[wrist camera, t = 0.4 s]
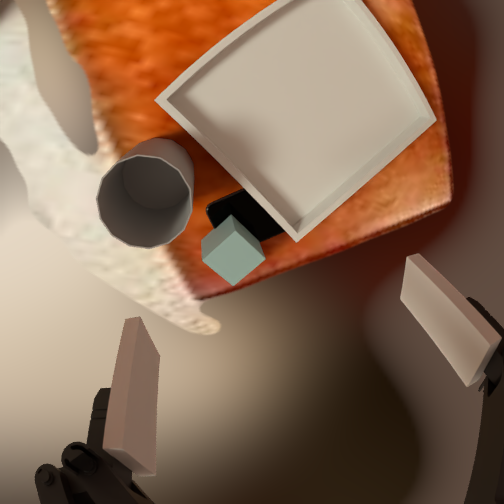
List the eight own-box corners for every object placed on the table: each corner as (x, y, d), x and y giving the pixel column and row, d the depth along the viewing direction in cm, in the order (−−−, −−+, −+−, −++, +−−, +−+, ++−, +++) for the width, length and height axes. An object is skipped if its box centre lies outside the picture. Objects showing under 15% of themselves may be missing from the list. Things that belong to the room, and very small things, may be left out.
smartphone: (227, 253, 40) (334, 208, 39) (228, 257, 39) (336, 211, 38) (202, 204, 36) (318, 156, 35) (202, 207, 35) (321, 157, 34)
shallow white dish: (160, 99, 29) (154, 100, 25) (319, -20, 24) (333, -32, 20) (286, 227, 39) (296, 242, 35) (416, 115, 33) (436, 120, 30)
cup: (209, 165, 33) (212, 191, 25) (169, 220, 36) (160, 264, 27) (147, 124, 30) (126, 135, 21) (110, 184, 32) (81, 217, 24)
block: (201, 239, 38) (202, 260, 33) (230, 212, 37) (235, 230, 32) (229, 263, 40) (233, 286, 36) (257, 239, 39) (265, 258, 35)
